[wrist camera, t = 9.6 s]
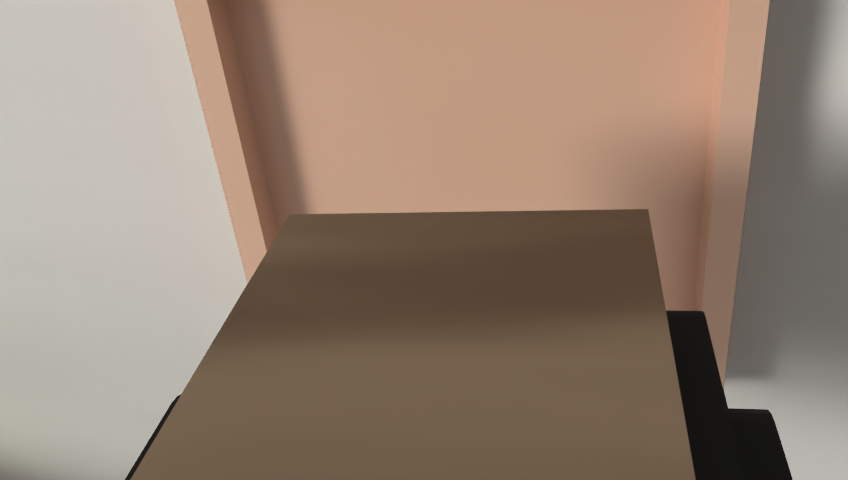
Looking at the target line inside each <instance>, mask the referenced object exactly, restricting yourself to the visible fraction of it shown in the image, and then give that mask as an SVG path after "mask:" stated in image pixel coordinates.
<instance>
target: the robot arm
mask: <svg viewBox="0 0 848 480" xmlns="http://www.w3.org/2000/svg"><path fill="white" fill-rule="evenodd" d="M666 314H667V319H668V325H669V331H670V337H671V342H672V348H673V354H674V359H675V365H676V371H677V376H678V382H679V388H680V393H681V399H682V405H683V411H684V416H685V422H686V428H687V433H688V439H689V445H690V450H691V456H692V462H693V467H694V473H695V479H696V480H792V476H791V473H790V470H789V467H788V463H787V460H786V457H785V454H784V451H783V447H782V444H781V441H780V438H779V434H778V431H777V428H776V425H775V422H774V419H773V417H772V414H771V413H770V412H769V411H768V410H761V409H728V407H727V403H726V399H725V394H724V390H723V386H722V382H721V378H720V374H719V370H718V366H717V362H716V358H715V353H714V349H713V345H712V341H711V337H710V333H709V329H708V325H707V321H706V317H705V314H704V312H703V311H668V310H666ZM180 396H181V395H179V396H177V397H176V399H175V400H174V401H173V402H172V404H171V405H170V407H169V408H168V410H167V412H166V413H165V415H164V417H163V418H162V420H161V421H160V423H159V425H158V426H157V428H156V430H155V431H154V433H153V435H152V436H151V438H150V439H149V441H148V443H147V444H146V446H145V448H144V449H143V451H142V453H141V454H140V456H139V458H138V459H137V461H136V462H135V464H134V466H133V467H132V469H131V471H130V472H129V474H128V476H127V477H126V479H125V480H130V479H131V478H132V476H133V474H134V473H135V471H136V469H137V468H138V466H139V464H140V463H141V461H142V459H143V458H144V456H145V454H146V453H147V451H148V449H149V448H150V446H151V444H152V443H153V441H154V439H155V438H156V436H157V434H158V433H159V431H160V429H161V428H162V426H163V424H164V423H165V421H166V419H167V418H168V416H169V414H170V413H171V411H172V409H173V408H174V406H175V404H176V403H177V401H178V399H179V398H180Z"/></svg>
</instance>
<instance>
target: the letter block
mask: <svg viewBox="0 0 848 480" xmlns="http://www.w3.org/2000/svg"><path fill="white" fill-rule="evenodd" d="M130 480H696V479H695V473H694V467H693V462H692V456H691V450H690V445H689V439H688V433H687V428H686V422H685V416H684V411H683V405H682V399H681V393H680V388H679V382H678V376H677V371H676V365H675V359H674V354H673V348H672V342H671V337H670V331H669V325H668V319H667V314H666V308H665V302H664V297H663V291H662V285H661V280H660V274H659V268H658V263H657V257H656V251H655V245H654V240H653V234H652V228H651V223H650V217H649V211H648V209H616V210H548V211H480V212H412V213H343V214H289V216H288V217H287V219H286V221H285V223H284V224H283V226H282V228H281V229H280V231H279V233H278V234H277V236H276V238H275V239H274V241H273V243H272V244H271V246H270V248H269V249H268V251H267V253H266V254H265V256H264V258H263V259H262V261H261V263H260V264H259V266H258V268H257V269H256V271H255V273H254V274H253V276H252V278H251V279H250V281H249V283H248V284H247V286H246V288H245V289H244V291H243V293H242V294H241V296H240V298H239V299H238V301H237V303H236V304H235V306H234V308H233V309H232V311H231V313H230V314H229V316H228V318H227V319H226V321H225V323H224V324H223V326H222V328H221V329H220V331H219V333H218V334H217V336H216V338H215V339H214V341H213V343H212V344H211V346H210V348H209V349H208V351H207V353H206V354H205V356H204V358H203V359H202V361H201V363H200V364H199V366H198V368H197V369H196V371H195V373H194V374H193V376H192V378H191V379H190V381H189V383H188V384H187V386H186V388H185V389H184V391H183V393H182V394H181V396H180V398H179V399H178V401H177V403H176V404H175V406H174V408H173V409H172V411H171V413H170V414H169V416H168V418H167V419H166V421H165V423H164V424H163V426H162V428H161V429H160V431H159V433H158V434H157V436H156V438H155V439H154V441H153V443H152V444H151V446H150V448H149V449H148V451H147V453H146V454H145V456H144V458H143V459H142V461H141V463H140V464H139V466H138V468H137V469H136V471H135V473H134V474H133V476H132V478H131V479H130Z"/></svg>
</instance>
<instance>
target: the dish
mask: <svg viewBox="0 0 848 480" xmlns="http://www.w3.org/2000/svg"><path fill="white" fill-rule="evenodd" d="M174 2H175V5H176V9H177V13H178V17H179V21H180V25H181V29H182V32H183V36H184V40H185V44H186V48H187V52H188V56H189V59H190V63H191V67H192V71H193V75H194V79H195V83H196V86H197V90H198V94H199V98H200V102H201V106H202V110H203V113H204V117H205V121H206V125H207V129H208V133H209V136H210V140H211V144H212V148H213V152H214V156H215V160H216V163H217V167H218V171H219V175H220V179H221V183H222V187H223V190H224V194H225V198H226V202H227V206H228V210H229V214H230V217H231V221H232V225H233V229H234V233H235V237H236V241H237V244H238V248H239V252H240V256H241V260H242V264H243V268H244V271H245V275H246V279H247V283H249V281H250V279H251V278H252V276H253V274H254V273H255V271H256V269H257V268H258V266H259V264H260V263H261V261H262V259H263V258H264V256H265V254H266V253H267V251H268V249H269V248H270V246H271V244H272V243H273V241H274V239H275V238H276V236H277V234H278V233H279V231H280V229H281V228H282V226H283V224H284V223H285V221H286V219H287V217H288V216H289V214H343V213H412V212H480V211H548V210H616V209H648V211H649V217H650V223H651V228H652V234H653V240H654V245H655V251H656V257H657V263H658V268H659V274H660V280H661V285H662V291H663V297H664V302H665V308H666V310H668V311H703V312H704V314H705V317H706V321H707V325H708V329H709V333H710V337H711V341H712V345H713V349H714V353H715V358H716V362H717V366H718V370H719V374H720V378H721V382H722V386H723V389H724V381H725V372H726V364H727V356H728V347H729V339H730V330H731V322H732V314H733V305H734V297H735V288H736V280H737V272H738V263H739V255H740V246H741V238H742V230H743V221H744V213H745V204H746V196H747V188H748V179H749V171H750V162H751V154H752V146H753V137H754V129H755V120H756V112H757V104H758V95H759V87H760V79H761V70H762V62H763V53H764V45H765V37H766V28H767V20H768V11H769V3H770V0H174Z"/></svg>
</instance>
